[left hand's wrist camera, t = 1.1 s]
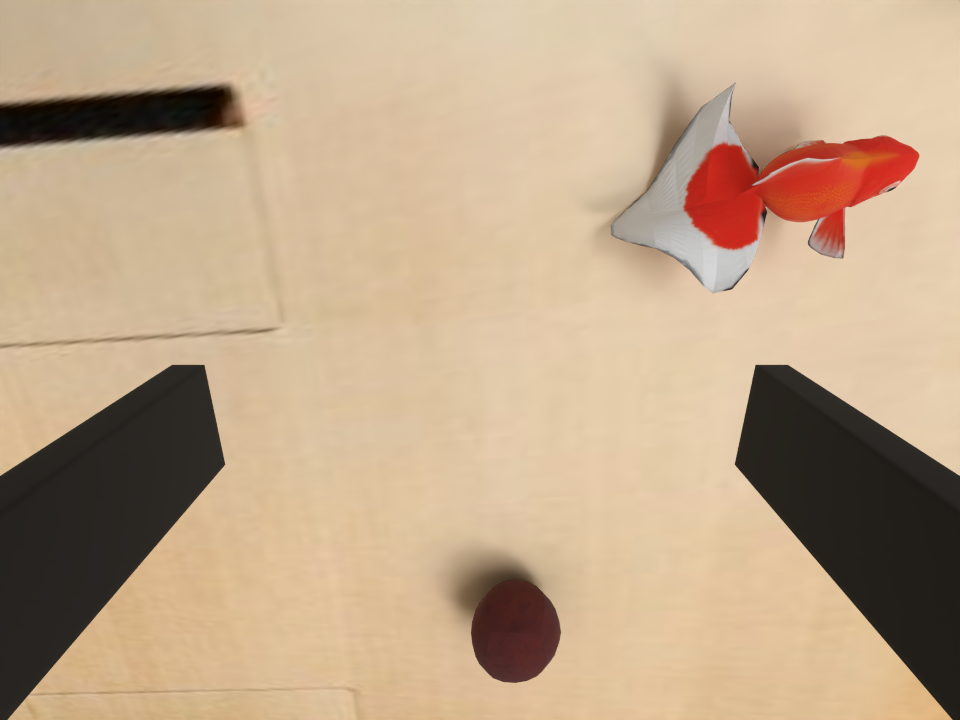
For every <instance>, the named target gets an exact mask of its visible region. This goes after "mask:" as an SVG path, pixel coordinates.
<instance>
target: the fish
mask: <svg viewBox="0 0 960 720" xmlns="http://www.w3.org/2000/svg"><path fill="white" fill-rule="evenodd" d="M735 84H736V83H734V84H733V85H731V86H730V87H729V88H727V89H726V90H725V91H723V92H722V93H720V94H719V95H718V96H716V97H715V98H714V99H712V100H711V101H709V102H708V103H707V104H705V105H704V106H703V107H701V108H700V110H699V111H698V113H697V114H696V115H695V117H694V118H693V120H692V121H691V123H690V124H689V125H688V127H687V128H686V130H685V131H684V132H683V134H682V135H681V137H680V138H679V140H678V141H677V142H676V144H675V145H674V147H673V149H672V151H671V152H670V154H669V156H668V158H667V159H666V161H665V163H664V165H663V166H662V168H661V170H660V171H659V173H658V175H657V176H656V178H655V179H654V181H653V183H652V184H651V186H650V187H649V189H648V191H647V192H646V193H645V194H643V195H642V196H641V197H640V198H639V199H638V200H637V201H635V202H634V203H633V204H632V205H631V206H630V207H629V208H628V209H627V210H626V211H625V212H624V213H623V214H622V215H620V216H619V217H618V218H617V219H616V220H615V221H614V222H613V223H612V224H611V235H612V236H614V237H616V238H618V239H621V240H624V241H627V242H630V243H634V244H638V245H641V246H646V247H651V248H655V249H658V250H660V251H662V252H664V253H666V254H668V255H670V256H672V257H674V258H675V259H676V260H678V261H679V262H680V263H681V264H683V265H684V266H685V267H686V268H688V269H689V270H690V271H691V272H692V273H693V274H694V276H695V277H696V278H697V279H698V280H699V281H700V283H701V284H702V285H703V286H704V287H705V288H707V289H708V290H709V291H710V292H711V293H716V292H721V291H726V290H731V289H733V288H734V286H735V285H736V284H737V283H738V282H739V280H740V279H741V278H742V277H743V276H744V274H745V273H746V272H747V271H748V269H749V267H750V265H751V263H752V261H753V258H754V256H755V254H756V251H757V247H758V244H759V241H760V237H761V233H762V230H763V226H764V222H765V218H766V214H767V211H766V208H765V205H766V206H767V207H768V208H769V209H770V210H771V211H772V212H773V213H775V214H776V215H777V216H779V217H780V218H782V219H785V220H788V221H793V222H807V221H812V220H816V219H818V221H817V223H816V225H815V227H814V229H813V231H812V233H811V236H810V238H809V241H808V245H809V246H810V247H811V248H812V249H814V250H815V251H817V252H818V253H820V254H821V255H825V256H829V257H833V258H843V255H844V250H845V222H844V221H845V207H852V206H855V205H857V204H859V203H861V202H863V201H865V200H867V199H869V198H872V197H875V196H877V195H880V194H882V193H885V192H888V191H891V190H893V189H894V188H896V187H897V186H898V185H899V184H900V183H901V182H902V181H903V180H904V179H905V178H906V177H907V176H908V175H909V174H910V173H911V172H912V171H913V169H914V168H915V166H916V163H917V161H918V158H919V153H918V152H917V151H915V150H914V149H913V148H912V147H910V146H908V145H905V144H903V143H900V142H898V141H897V140H895V139H893V138H891V137H889V136H883V135H882V136H877V137H874V138H872V139H860V140H853V141H847V142H845V143H843V144H836V143H825V142H824V141H823V140H820V141H806V142H804V143H801V144H799V145H798V146H797V147H796V148H795V149H794V150H791V151H789V152H787V153H784V154H782V155H780V156H778V157H777V158H775V159H774V160H773V161H772V162H771V163H770V164H769V165H768V166H767V167H766V168H765V169H764V170H763V171H762V173H761V174H760V176H759V178H758V174H759V167H758V165H757V164H756V163H755V162H754V160H753V159H752V158H751V156H750V155H749V154H748V152H747V151H746V150H745V148H744V147H743V146H742V144H741V142H740V139H739V137H738V135H737V133H736V131H735V130H734V128H733V126H732V125H731V123H730V121H729V116H730V107H731V98H732V93H733V90H734V87H735ZM764 204H765V205H764Z"/></svg>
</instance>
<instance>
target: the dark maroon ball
mask: <svg viewBox="0 0 960 720" xmlns="http://www.w3.org/2000/svg"><path fill="white" fill-rule="evenodd" d="M560 634H561V630H560V623H559V619H558V616H557V613H556V610H555V608H554V606H553V604H552V603H551V601H550V600H549V599H548V598H547V597H546V595H545V594H544V593H543V592H542V591H541V590H540V589H539V588H537V587H536V586H535V585H533V584H531V583H528V582H526V581H521V580H510V581H505V582H502V583H500V584H498V585H497V586H495V587H493V588H492V589H491V590H490V592H489V593H488V594H487V595H486V596H485V597H484V598H483V599H482V600H481V601H480V603H479V605H478V607H477V609H476V611H475V614H474V618H473V621H472V629H471V636H472V644H473V648H474V652H475V656H476V658H477V660H478V662H479V664H480V665H481V666H482V667H483V668H484V669H485V670H486V672H487V673H488V674H489V675H490V676H491V677H493V678H494V679H497V680H500V681H502V682H512V683H517V682H523V681H528V680H530V679H532V678H534V677H536V676H538V675H539V674H540V673H541V672H542V671H543V670H544V668H545V667H546V666H547V665H548V664H549V662H550V661H551V660H552V658H553V657H554V655H555V652H556V650H557V647H558V644H559V640H560Z"/></svg>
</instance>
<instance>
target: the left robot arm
mask: <svg viewBox="0 0 960 720" xmlns="http://www.w3.org/2000/svg"><path fill="white" fill-rule="evenodd" d="M224 465H225V461H224V457H223V452H222V447H221V442H220V438H219V433H218V428H217V423H216V418H215V414H214V409H213V404H212V399H211V394H210V390H209V385H208V380H207V375H206V370H205V366H204V365H171V366H170V367H168V368H167V369H165V370H164V371H162V372H161V373H159V374H157V375H156V376H154V377H153V378H151V379H150V380H148V381H147V382H145V383H143V384H142V385H140V386H139V387H137V388H136V389H134V390H133V391H131V392H130V393H128V394H126V395H125V396H123V397H122V398H120V399H119V400H117V401H116V402H114V403H113V404H111V405H109V406H108V407H106V408H105V409H103V410H102V411H100V412H99V413H97V414H95V415H94V416H92V417H91V418H89V419H88V420H86V421H85V422H83V423H82V424H80V425H78V426H77V427H75V428H74V429H72V430H71V431H69V432H68V433H66V434H65V435H63V436H61V437H60V438H58V439H57V440H55V441H54V442H52V443H51V444H49V445H48V446H46V447H44V448H43V449H41V450H40V451H38V452H37V453H35V454H34V455H32V456H30V457H29V458H27V459H26V460H24V461H23V462H21V463H20V464H18V465H17V466H15V467H13V468H12V469H10V470H9V471H7V472H6V473H4V474H3V475H1V476H0V720H7V719H8V718H9V717H10V716H11V715H12V714H13V712H14V711H15V710H16V709H17V708H18V707H19V705H20V704H21V703H22V702H23V701H24V700H25V698H26V697H27V696H28V695H29V694H30V693H31V691H32V690H33V689H34V688H35V687H36V686H37V684H38V683H39V682H40V681H41V680H42V679H43V677H44V676H45V675H46V674H47V673H48V671H49V670H50V669H51V668H52V667H53V666H54V664H55V663H56V662H57V661H58V660H59V659H60V657H61V656H62V655H63V654H64V653H65V652H66V650H67V649H68V648H69V647H70V646H71V645H72V643H73V642H74V641H75V640H76V639H77V638H78V636H79V635H80V634H81V633H82V632H83V630H84V629H85V628H86V627H87V626H88V625H89V623H90V622H91V621H92V620H93V619H94V618H95V616H96V615H97V614H98V613H99V612H100V611H101V609H102V608H103V607H104V606H105V605H106V604H107V602H108V601H109V600H110V599H111V598H112V597H113V595H114V594H115V593H116V592H117V591H118V589H119V588H120V587H121V586H122V585H123V584H124V582H125V581H126V580H127V579H128V578H129V577H130V575H131V574H132V573H133V572H134V571H135V570H136V568H137V567H138V566H139V565H140V564H141V563H142V561H143V560H144V559H145V558H146V557H147V556H148V554H149V553H150V552H151V551H152V550H153V549H154V547H155V546H156V545H157V544H158V543H159V541H160V540H161V539H162V538H163V537H164V536H165V534H166V533H167V532H168V531H169V530H170V529H171V527H172V526H173V525H174V524H175V523H176V522H177V520H178V519H179V518H180V517H181V516H182V515H183V513H184V512H185V511H186V510H187V509H188V508H189V506H190V505H191V504H192V503H193V502H194V500H195V499H196V498H197V497H198V496H199V495H200V493H201V492H202V491H203V490H204V489H205V488H206V486H207V485H208V484H209V483H210V482H211V481H212V479H213V478H214V477H215V476H216V475H217V474H218V472H219V471H220V470H221V469H222V468H223V467H224ZM735 465H736V467H737V468H738V469H739V470H740V471H741V472H742V474H743V475H744V476H745V477H746V478H747V479H748V481H749V482H750V483H751V484H752V485H753V486H754V488H755V489H756V490H757V491H758V492H759V493H760V495H761V496H762V497H763V498H764V499H765V500H766V502H767V503H768V504H769V505H770V506H771V508H772V509H773V510H774V511H775V512H776V513H777V515H778V516H779V517H780V518H781V519H782V520H783V522H784V523H785V524H786V525H787V526H788V527H789V529H790V530H791V531H792V532H793V533H794V534H795V536H796V537H797V538H798V539H799V540H800V541H801V543H802V544H803V545H804V546H805V547H806V549H807V550H808V551H809V552H810V553H811V554H812V556H813V557H814V558H815V559H816V560H817V561H818V563H819V564H820V565H821V566H822V567H823V568H824V570H825V571H826V572H827V573H828V574H829V575H830V577H831V578H832V579H833V580H834V581H835V582H836V584H837V585H838V586H839V587H840V588H841V589H842V591H843V592H844V593H845V594H846V595H847V597H848V598H849V599H850V600H851V601H852V602H853V604H854V605H855V606H856V607H857V608H858V609H859V611H860V612H861V613H862V614H863V615H864V616H865V618H866V619H867V620H868V621H869V622H870V623H871V625H872V626H873V627H874V628H875V629H876V630H877V632H878V633H879V634H880V635H881V636H882V638H883V639H884V640H885V641H886V642H887V643H888V645H889V646H890V647H891V648H892V649H893V650H894V652H895V653H896V654H897V655H898V656H899V657H900V659H901V660H902V661H903V662H904V663H905V664H906V666H907V667H908V668H909V669H910V670H911V671H912V673H913V674H914V675H915V676H916V677H917V679H918V680H919V681H920V682H921V683H922V684H923V686H924V687H925V688H926V689H927V690H928V691H929V693H930V694H931V695H932V696H933V697H934V698H935V700H936V701H937V702H938V703H939V704H940V705H941V707H942V708H943V709H944V710H945V711H946V712H947V714H948V715H949V716H950V717H951V718H952V719H953V720H960V476H959V475H957V474H956V473H954V472H953V471H951V470H950V469H948V468H947V467H945V466H943V465H942V464H940V463H939V462H937V461H936V460H934V459H933V458H931V457H930V456H928V455H926V454H925V453H923V452H922V451H920V450H919V449H917V448H916V447H914V446H912V445H911V444H909V443H908V442H906V441H905V440H903V439H902V438H900V437H899V436H897V435H895V434H894V433H892V432H891V431H889V430H888V429H886V428H885V427H883V426H882V425H880V424H878V423H877V422H875V421H874V420H872V419H871V418H869V417H868V416H866V415H865V414H863V413H861V412H860V411H858V410H857V409H855V408H854V407H852V406H851V405H849V404H847V403H846V402H844V401H843V400H841V399H840V398H838V397H837V396H835V395H834V394H832V393H830V392H829V391H827V390H826V389H824V388H823V387H821V386H820V385H818V384H817V383H815V382H813V381H812V380H810V379H809V378H807V377H806V376H804V375H803V374H801V373H799V372H798V371H796V370H795V369H793V368H792V367H790V366H789V365H756V366H755V370H754V375H753V380H752V385H751V390H750V394H749V399H748V404H747V409H746V414H745V418H744V423H743V428H742V433H741V438H740V442H739V447H738V452H737V457H736V461H735Z"/></svg>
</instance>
